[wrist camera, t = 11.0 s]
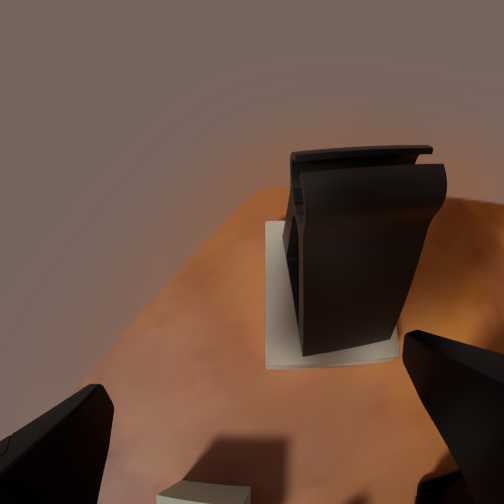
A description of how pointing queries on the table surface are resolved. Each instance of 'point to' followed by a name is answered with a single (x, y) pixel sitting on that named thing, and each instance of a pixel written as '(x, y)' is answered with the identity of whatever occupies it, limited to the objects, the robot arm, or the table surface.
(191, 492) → the sage cube
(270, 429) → the table surface
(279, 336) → the base block
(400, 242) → the phone stand
